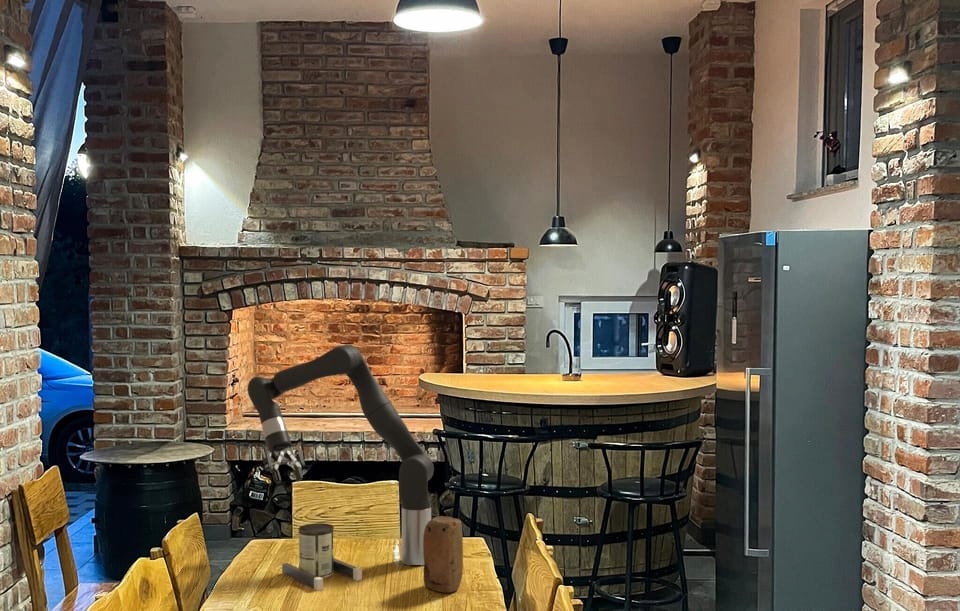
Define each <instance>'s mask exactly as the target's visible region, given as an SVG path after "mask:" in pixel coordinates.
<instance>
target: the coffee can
mask: <svg viewBox="0 0 960 611" xmlns="http://www.w3.org/2000/svg"><path fill="white" fill-rule="evenodd" d="M298 549H299V550H298V555H299V556H298V560H299V562H298V563H299V565H298V568H300V569H302V570H304V571H306V572H308V573H311V574H313V575H315V576H317V577H321V578H323V580H324V579H328V578H330V577H332V576H333V575H334V572H335V571H333V558H334V525H332V524H331V523H322V522H320V523H319V522H317V523H316V522H315V523H308V524H304V525H301V526H299V527H298Z"/></svg>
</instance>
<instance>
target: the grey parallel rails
mask: <svg viewBox="0 0 960 611" xmlns="http://www.w3.org/2000/svg"><path fill="white" fill-rule="evenodd" d="M281 566H282V567H281V568H282V569H281V571H282V572H281V573H283V574H284V575H283V574H282V575H283V576H286V575H287V576H286V577H288V576H289V577H288V578H290V577H291V579H292V578H293V579H292V580H294V579H295V581H296V580H297V581H296V582H298V581H299V582H298V583H300V582H301V584H302V585H305V586H307V587H308V588H311V589H313V590H315V591H316V592H317V591H318V592H319V591H322V590H324V579H323V578H321V577H317V576H315V575H313V574H311V573H308V572H306V571H304V570H302V569H300V568H299V567H297V566H295V565H293V564H290V563H289V562H285V563H282V565H281ZM333 570H334V571H333V572H335V571H336V572H335V573H338V574H340V573H341V574H340V575H342V574H343V576H345V577H347V578H349V577H350V579H351V580H354V581H357V582H358V581H362V580H363V568H361V567H356V566H354V565H351V564H349V563H347V562H345V561H341V560H339V559H337V558H335V557H333Z"/></svg>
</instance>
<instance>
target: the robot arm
mask: <svg viewBox="0 0 960 611" xmlns="http://www.w3.org/2000/svg"><path fill="white" fill-rule="evenodd" d="M372 373H373V372H371V369H370V367H369V366H368V364H367V362H366V360H365V358H364V356H363V354H362V352H361V351H360V349H358V348H357V347H356V346H354V345H352V344H343V345H338V346H335V347H334V348H331V349H330V350H329V351H327V352H325V353H323V354H322V355H320V356H319V357H317V358H314V359H312V360H310V361H307V362H303V363H300V364H297V365H293V366H291V367H288V368H286V369H282V370H279V371H277V372H276V373H275V374H274V376H273V377H272V378H266V377H262V376H253V377H252V378H251V379H250V380H249V382H248V384H247V393H248V397H249V399H250V400H251V403H252V404H253V406H254V408H255V409H256V411H257V414H258V415H259V419H260V424H261V428H262V434H263V437H264V442H265V444H266V448H267V450H266V451H264V452H263V453H262V454H261V457H262V463H263V467H264V470H265V472H270V473H271V475H272V479H273V481H274V483H275V484H279V483H281V482H282V478H281V474H280V470H279V466H280V465H287V466H289V467H291V468H292V469H293V470H294V471H293V472H294V476H295V479H296V481H297V482H301V481H302V480H303V477H304V476H303V472H302V467H304V466H305V465H306V463H305V459H304V457H303V455H302V452H301V449H300V448H296V449H293V448H292V447H291V446H292V443H291V442H292V441H291V438H290V436H289V435H290V434H289V432H288V428H287V425H286V423H285V420H284V417H283V414H282V411H281V407H280V406H279V404H278V403H277V402H275V401H274V400H273V399H276V398H278V397H280V396H282V395H283V394H285V393H286V392H288V391H291V390H295V389H297V388H300V387H303V386H305V385H307V384H310V383H311V382H313V381H315V380H319V379H321V378H326V377H332V376H333V377H334V376H344V375H346V376H347V377H348V379H349V380H350V382H351V383H352V384H353V386H354V387H355V389H356V392H357V395H358V400H359V403H360V407H361V411H362V413H363V415H364V417H365V418H366V420H367V421H368V424H370V426H371V428H372V429H373V431H375V432H376V434H377V435H378V436H379V437H380V438H381V439H383V440H384V441H385V442H386V443H388V444H389V446H391V447H392V448H393V449H394V450H395V452H396V453H397V455H398V457H399V458H400V461H401V464H400V467H399V470H398V471H399V472H398V483H399V484H398V487H399V491H398V493H399V499H400V502H401V564H403V565H405V564H406V566H410V565H421V566H424V554H423V541H424V540H423V535H424V530H425V527H426V525H427V523H428V522H429V521H430V520H431V519H432V498H431V496H430V495H429V490H428V489H429V487H428V484H429V483H428V482H429V481H430V480H431V479H432V477H433V476H434V471H435V466H434V463H433V461H432V458H430V456H429V455H428V454H427V453H426V451H424V449H423V448H422V447H421V446H420V444H419V443H418V442H417V441H416V439H415V438H414V436H413V435H412V433H411V432H410V430H409V429H408V427H407V425H406V423H405V422H404V421H403V419H402V418H401V415H400V414H399V413H398V411H397V409H396V408H395V406H394V405H393V403H392V402H391V400H390V398H388V396H387V395H386V393H385V391H384V390H383V388H382V387H381V385H380V384H379V383H378V382H377V380H376V378H375V376H374V375H373V374H372Z"/></svg>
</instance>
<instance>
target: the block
mask: <svg viewBox="0 0 960 611" xmlns="http://www.w3.org/2000/svg"><path fill="white" fill-rule="evenodd" d="M423 540H424V541H423V554H424V565H423V584H424V587H426V588H428V589H430V590H432V591H436V592H439V593H445V594H446V593H454V592H456V591H458V590H459V589H460V586H461V582H462V578H463V574H464V573H463V571H464V570H463V569H464V568H463V567H464V549H463V548H464V546H463V545H464V540H463V526H462V521H461V520H460V519H459V518H454V517H452V516H448V515H447V516H444V515H439V516H435V517H433V518H431V520H430V521H429V522H428V523H427V525H426V527H425V530H424V535H423Z"/></svg>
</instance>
